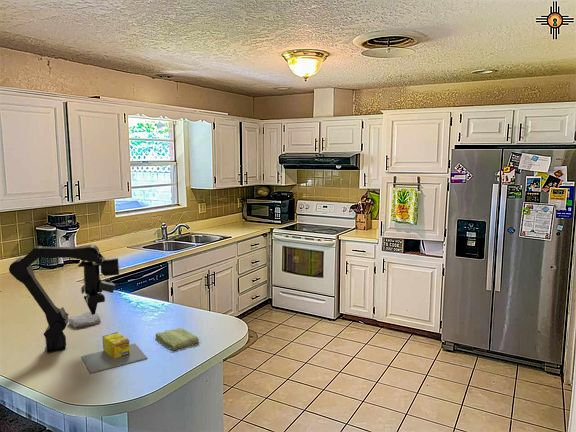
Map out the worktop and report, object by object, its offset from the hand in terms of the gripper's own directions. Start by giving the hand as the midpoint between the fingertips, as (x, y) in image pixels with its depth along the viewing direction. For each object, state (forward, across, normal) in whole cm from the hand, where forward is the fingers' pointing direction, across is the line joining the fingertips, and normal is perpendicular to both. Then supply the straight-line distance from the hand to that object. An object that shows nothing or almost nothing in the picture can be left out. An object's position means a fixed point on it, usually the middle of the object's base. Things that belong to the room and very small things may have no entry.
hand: (93, 314), depth 175 cm
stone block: (+13, +27, 0) cm, 30 cm away
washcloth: (+13, -15, -29) cm, 35 cm away
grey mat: (+12, -18, -4) cm, 22 cm away
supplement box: (+9, -8, -4) cm, 13 cm away
